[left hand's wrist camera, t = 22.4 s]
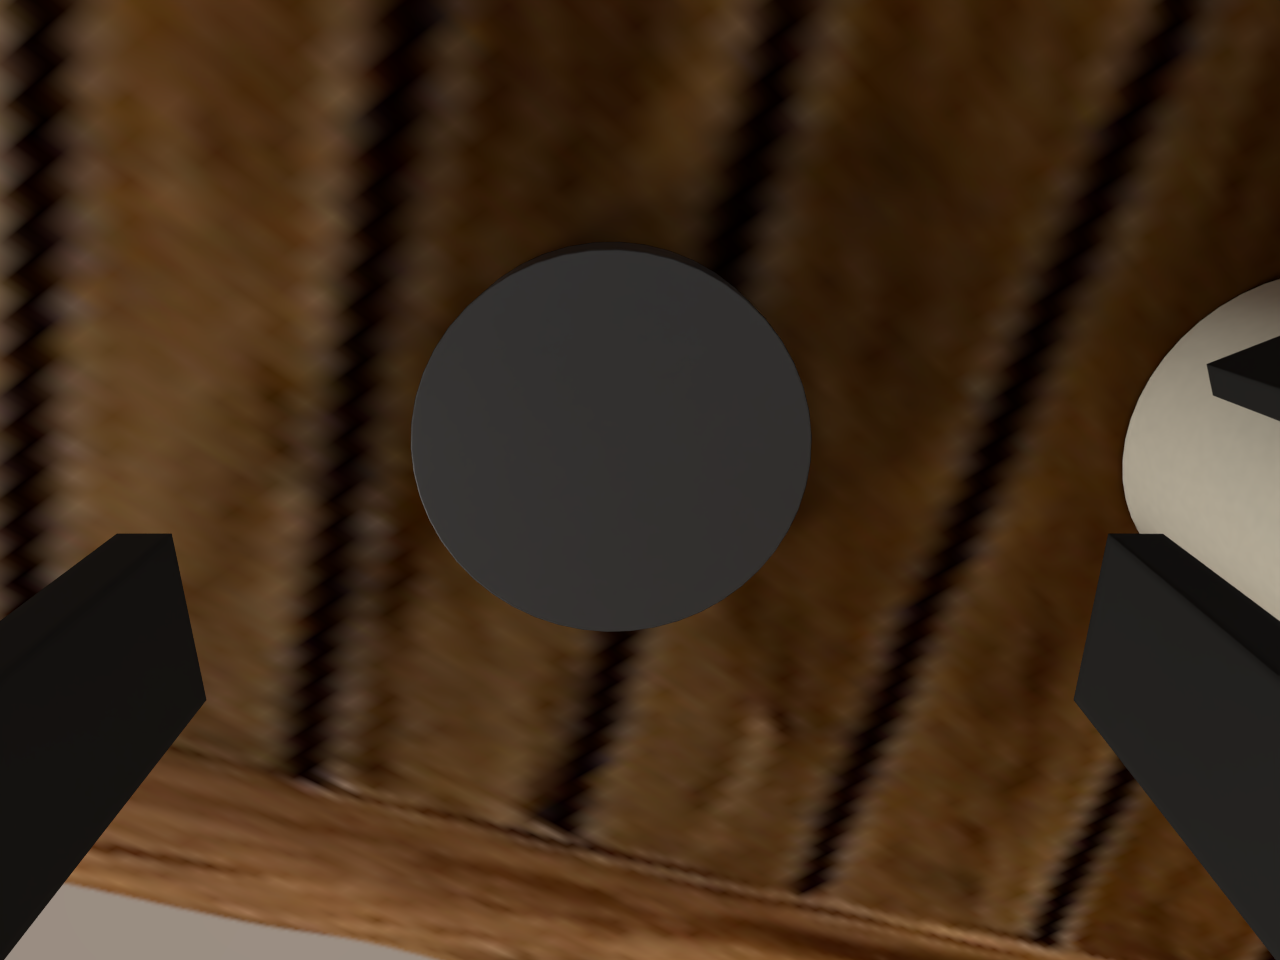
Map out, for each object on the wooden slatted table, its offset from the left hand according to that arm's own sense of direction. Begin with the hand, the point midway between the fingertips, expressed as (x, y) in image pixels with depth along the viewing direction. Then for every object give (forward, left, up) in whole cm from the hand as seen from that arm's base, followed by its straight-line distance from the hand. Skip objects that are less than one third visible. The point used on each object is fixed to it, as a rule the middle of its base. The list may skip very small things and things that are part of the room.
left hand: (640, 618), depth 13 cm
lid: (+1, 0, -10) cm, 10 cm away
